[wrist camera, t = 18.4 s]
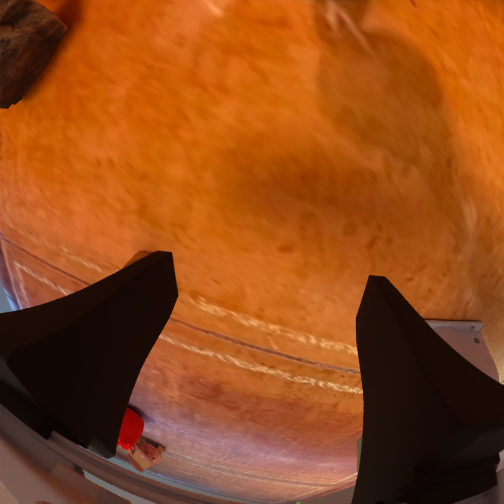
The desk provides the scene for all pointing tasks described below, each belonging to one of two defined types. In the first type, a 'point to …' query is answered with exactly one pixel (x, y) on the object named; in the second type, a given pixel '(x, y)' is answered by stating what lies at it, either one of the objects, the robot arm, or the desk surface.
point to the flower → (130, 430)
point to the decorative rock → (25, 45)
